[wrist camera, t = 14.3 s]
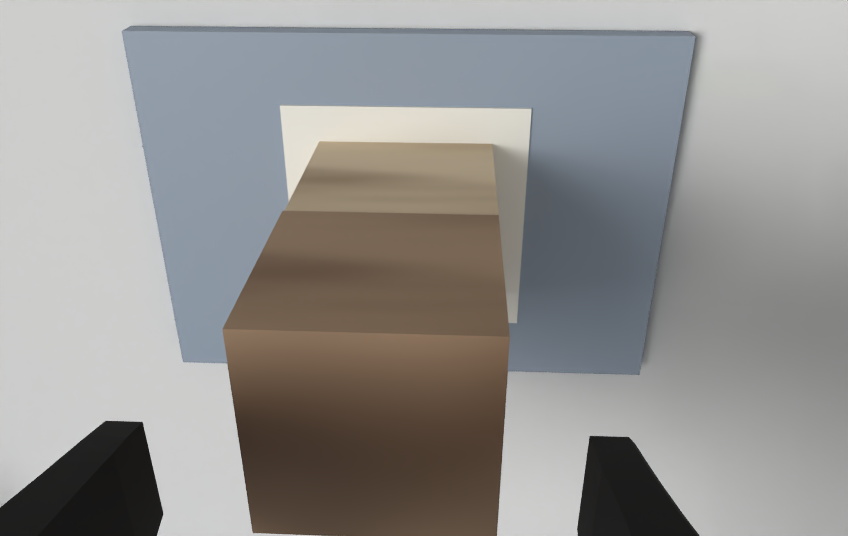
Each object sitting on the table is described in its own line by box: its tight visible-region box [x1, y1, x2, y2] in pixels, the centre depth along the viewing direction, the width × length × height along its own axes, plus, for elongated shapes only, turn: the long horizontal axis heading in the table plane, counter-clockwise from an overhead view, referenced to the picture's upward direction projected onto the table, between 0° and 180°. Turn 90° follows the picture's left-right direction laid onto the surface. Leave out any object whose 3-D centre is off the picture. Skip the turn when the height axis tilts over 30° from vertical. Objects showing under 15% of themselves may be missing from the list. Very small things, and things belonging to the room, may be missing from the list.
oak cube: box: [284, 141, 499, 215], centre depth 19 cm, size 4×4×4 cm
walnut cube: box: [222, 211, 510, 536], centre depth 15 cm, size 4×4×4 cm
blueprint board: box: [122, 26, 696, 375], centre depth 21 cm, size 10×14×1 cm
